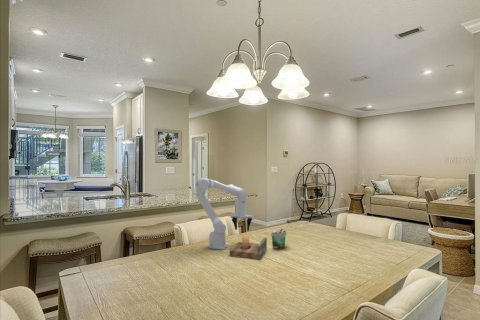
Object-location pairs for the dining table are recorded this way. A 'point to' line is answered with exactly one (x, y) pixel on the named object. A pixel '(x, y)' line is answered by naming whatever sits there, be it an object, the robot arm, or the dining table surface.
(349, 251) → the dining table surface
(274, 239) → the food container
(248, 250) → the socket block
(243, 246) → the peg
